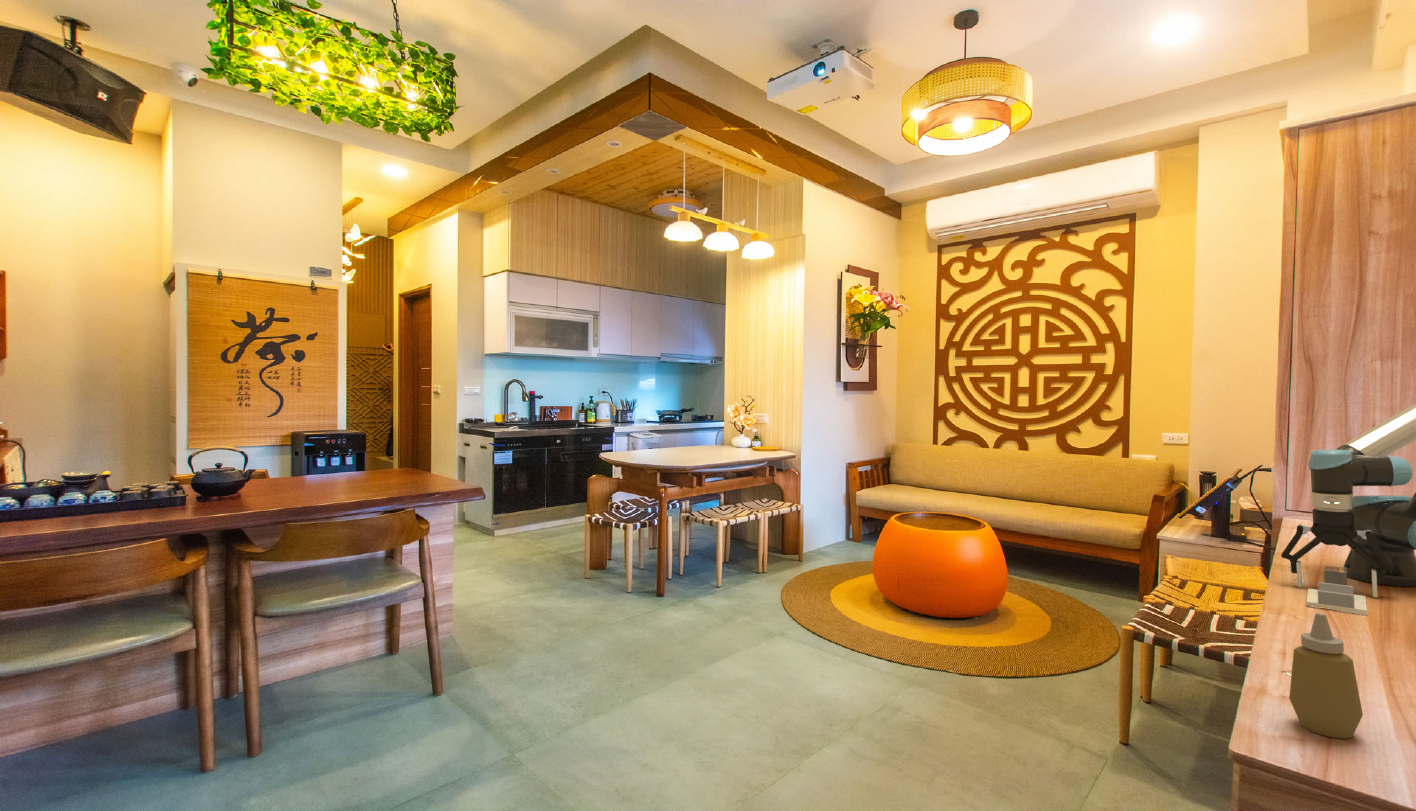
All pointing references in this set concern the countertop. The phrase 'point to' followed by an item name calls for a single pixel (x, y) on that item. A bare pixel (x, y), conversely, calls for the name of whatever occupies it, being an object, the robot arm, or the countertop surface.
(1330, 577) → the plug
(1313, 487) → the robot arm
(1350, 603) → the board
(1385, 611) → the countertop surface
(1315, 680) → the squeeze bottle
